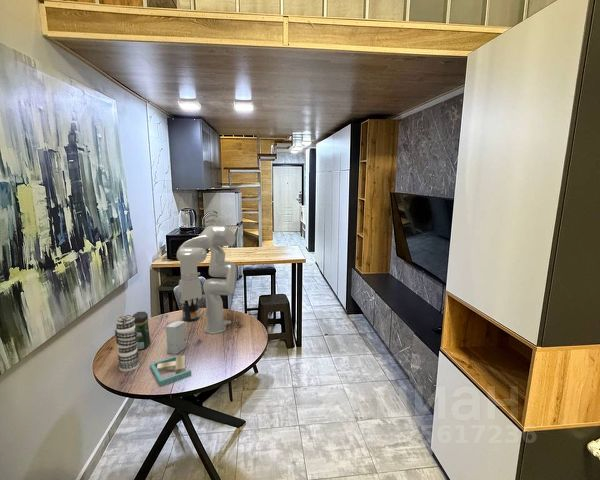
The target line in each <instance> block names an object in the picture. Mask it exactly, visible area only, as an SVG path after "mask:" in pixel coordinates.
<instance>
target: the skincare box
mask: <svg viewBox="0 0 600 480" xmlns="http://www.w3.org/2000/svg"><path fill="white" fill-rule="evenodd" d="M185 322H186V321H184V320H183V321H180V320H174V321H173V322H170V323H169V324H168V325H167V324H166V326H165V333H166V335H165V336H166V348H167V353H168V354H173V355H177V354H178V355H179V353H180V352H182V351H183V350H185V349H186V348H187V338H186V323H185Z"/></svg>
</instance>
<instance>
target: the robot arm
mask: <svg viewBox="0 0 600 480" xmlns="http://www.w3.org/2000/svg"><path fill="white" fill-rule="evenodd" d="M235 242H236V236H235V233H234V232H233V230H232V229H230V228H229V227H227V226H226V225H207V226H206V227H205V228H204V229H203V231H202V232H201V233H200V234H199V235H198V236H196V237H193V238H191V239H188V240H186V241H184V242H183V243H182V244H181V245H179V247H178V249H177V251H176V259H177V260H178V261H179V265H180V266H179V267H180V268H179V269H180V279H179V281H178V298H179V303H180V304H183V303H186V304H187V305H188V311H189V312H191V313H194V312H195V304H196V302H197V301H198V302H199V300H201V299H202V298H203V296H202V295H203V293H202V285H201V280H200V277H199V276H200V275H201V272H198V264H201V263H203V262H205V261H206V259H207V256H208V252H207V250H210V260H209V267H208V275H209V276H210V277H214V278H207V279H206V280H205V281H204V282H203V292H204V295H205V296H204V297H205V307H206V309H205V310H206V326H205V328H204V332H205V333H206V334H210V335H216V334H221V333H224V331H226V329H227V325H230V324H232V321H231V320H227V319H225V320H224V306H223V304H224V303H223V300H222V297H221V296H231V295H233V293H234V289H235V281H236V275H237V274H236V273H237V267H236V264H235V263H234V262H233V261H230V260H229V261H228V260H227V261H226V260H225V259H226V252H225V250H224V249H223V248H222V247H223V246H224V247H232V246H233V245H235ZM221 246H222V247H221ZM191 299H192V302H191V301H190V300H191Z"/></svg>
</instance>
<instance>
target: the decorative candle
mask: <svg viewBox="0 0 600 480" xmlns="http://www.w3.org/2000/svg"><path fill="white" fill-rule="evenodd" d="M132 316H133V315H129V314H128V315H122V316H120V317H118V318H117V319H116V320H115V323H116V324H115V326H116V327H115V329H114V335H115V340H116V346H117V348H118V354H117V357H118V359H117V360H118V368H119V371H121V372H131V371H134V370H135V369H137V368H139V366H140V358H139V350H137V347H136V343H137V337H135V336H137V333H136V332H137V330H135V328H136V327H137V326H135V324H134V320H135V318H134V317H132Z"/></svg>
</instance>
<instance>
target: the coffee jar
mask: <svg viewBox="0 0 600 480" xmlns="http://www.w3.org/2000/svg"><path fill="white" fill-rule="evenodd" d="M131 316H132V317H134V318H135V320H134V324H135V326H137V327H136V328H135V330H137V332H136V333H137V336H135V337H137V343H136V347H137V350H138V351H141V350H144V349H147V348H148V347H149V345H150V343H151V338H150V329H149V315H148V312H146V311H137V312H136V313H134V314H132V315H131Z"/></svg>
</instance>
